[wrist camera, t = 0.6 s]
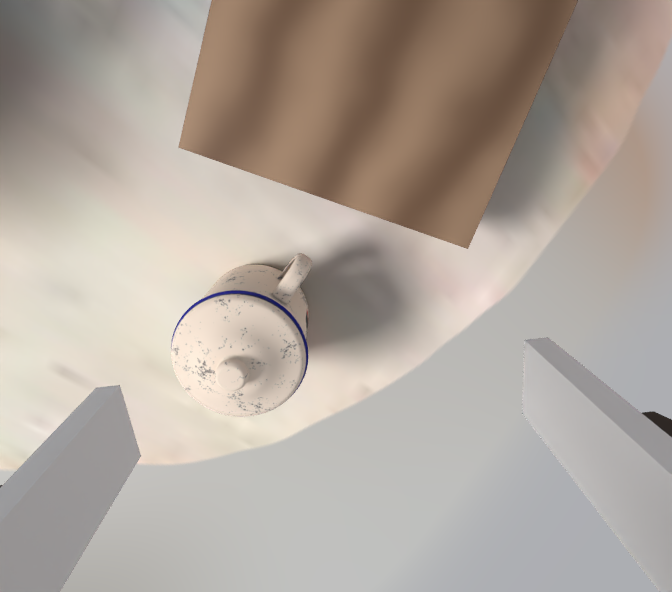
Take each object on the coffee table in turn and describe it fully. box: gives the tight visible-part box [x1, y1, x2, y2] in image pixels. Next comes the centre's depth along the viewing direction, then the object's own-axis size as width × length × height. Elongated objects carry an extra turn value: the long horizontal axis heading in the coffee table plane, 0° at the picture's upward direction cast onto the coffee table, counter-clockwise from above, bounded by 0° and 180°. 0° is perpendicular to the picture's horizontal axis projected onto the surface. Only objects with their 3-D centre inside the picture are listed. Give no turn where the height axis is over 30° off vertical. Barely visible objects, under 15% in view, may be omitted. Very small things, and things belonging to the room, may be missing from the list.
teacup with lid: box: [171, 253, 312, 417], centre depth 31 cm, size 12×9×12 cm
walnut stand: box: [179, 0, 578, 249], centre depth 29 cm, size 20×18×6 cm
